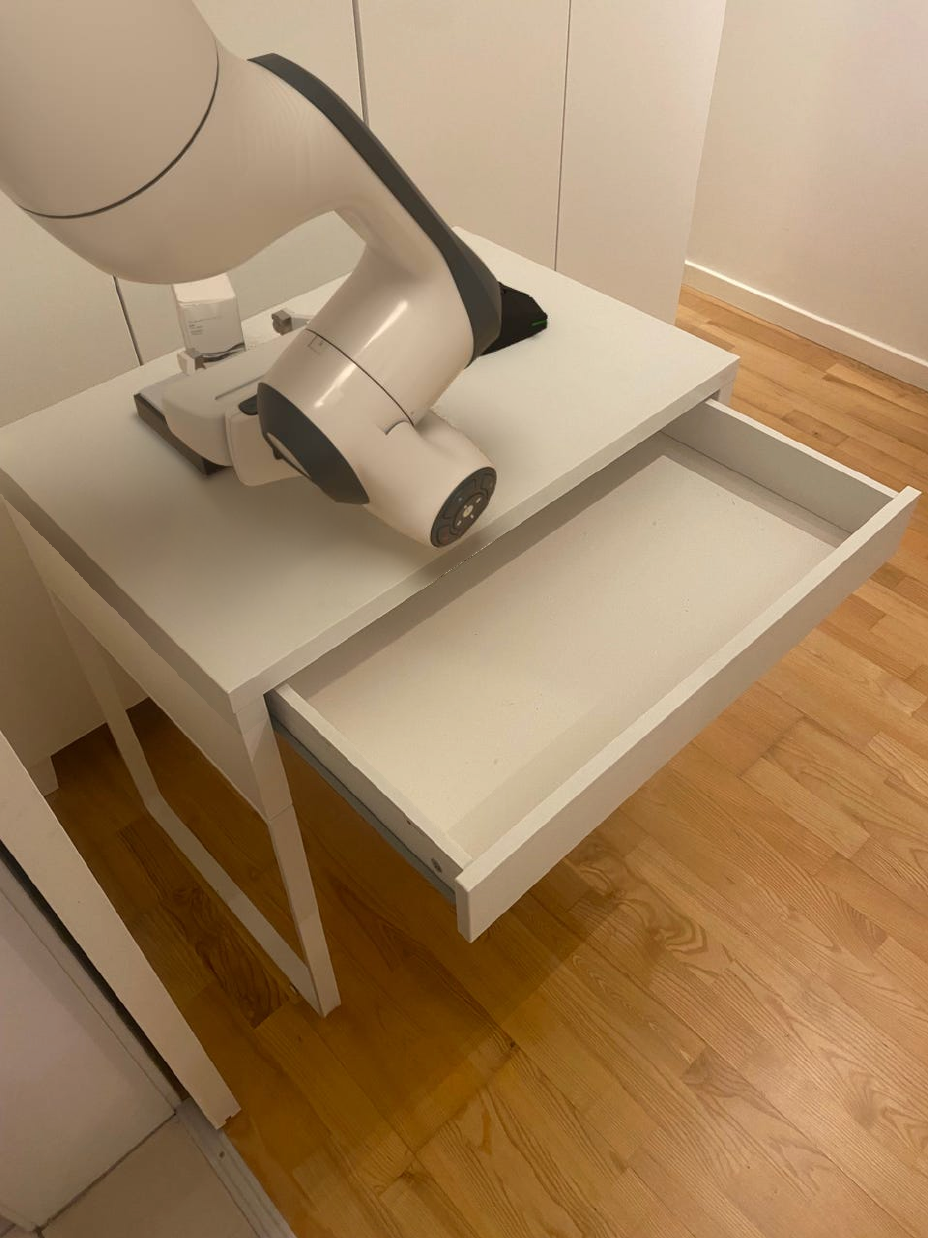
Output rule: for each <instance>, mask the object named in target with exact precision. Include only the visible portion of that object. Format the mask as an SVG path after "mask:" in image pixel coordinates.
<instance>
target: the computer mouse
mask: <svg viewBox="0 0 928 1238" xmlns="http://www.w3.org/2000/svg"><path fill="white" fill-rule="evenodd" d="M497 281H498V283H499V287H500V293H501V327H500V334H499V336H498V337H497V339H495V340H494V341H493V342H492V343H491V344H490V345H489V346H488V347H487V348H486V349H485V350H484V351H483V352H482V353H481V354H480V355H479V356H478V357H482V356H486V355H488V354H491V353H495V352H498V351H500V350H503V349H505V348H508V347H510V346H512V345H515V344H518V343H519V342H522V341H524V340H527V339H529V338H531V337H533V336H535V335H537V334H539V333H541V332H542V331H544V330H546V329H547V328H548V319H549V316H548V314H547V312H545V311H544V309H542V307H541V306H540V305H539V303H538V302H537V301H536V300H535V299H534V297H533V296H531V295H530V294H528V293H525V292H524V291H521V290H518V289H515V288H513V287H511V286H508V285H506V284H504V283H503V282H501V281H499V280H497Z"/></svg>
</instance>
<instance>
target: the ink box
mask: <svg viewBox="0 0 928 1238" xmlns="http://www.w3.org/2000/svg"><path fill="white" fill-rule="evenodd" d="M170 287H171V288H170V289H171V292H172V297H173V301H174V306H175V310H176V315H177V319H178V324H179V327H180V331H181V336H182V340H183V344H184V349H185V350H188V349H190V348H195V349H196V351H199V352H200V353H201V354H202V355H203V359H204V363H203V365H204V366H205V368H206V369H207V368H209V367H212V366H214V365H216V364H219V363H221V362H223V361H225V360H228V359H230V358H232V357H234V356H237V355H239V354H241V353H244V352H246V351H247V349H246V344H245V339H244V333H243V332H244V331H243V328H242V322H241V321H242V320H241V317H240V311H239V306H238V299H237V296H236V292H235V290H234V288H233V285H232V283H231V280H230V277H229V275H228V272H225V273H223V274H220V275H218V276H215V277H211V278H208V279H204V280H200V281H195V282H189V283H182V284H170Z"/></svg>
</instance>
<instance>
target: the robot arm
mask: <svg viewBox="0 0 928 1238" xmlns="http://www.w3.org/2000/svg"><path fill="white" fill-rule="evenodd" d="M0 191H1V192H2V193H3V194H4V195H5V196H6V197H7V198H8V199H9V200H11V202H12V203H13V204H15V205H16V206H17V207H18V208H19V209H20V210H21V211H22V212H23V213H25V214H26V215H27V216H28V217H29V218H30V219H31V220H33V222H35V223H36V224H37V225H38V226H39V227H41V229H43V230H44V231H45V232H47V233H48V234H49V235H50V236H51V237H53V238H54V239H56V240H57V241H58V242H59V243H60V244H62V245H63V246H64V247H66V248H67V249H69V250H70V251H71V252H73V253H74V254H75V255H77V256H78V257H80V258H81V259H82V260H84V261H85V262H87V263H89V264H90V265H92V266H93V267H95V268H96V269H98V270H100V271H101V272H103V273H105V274H106V275H109V276H111V277H114V278H117V279H120V280H124V281H128V282H132V283H137V284H138V283H139V284H146V285H159V286H160V285H163V286H164V285H167V286H168V285H170V286H171V284H182V283H189V282H195V281H200V280H204V279H208V278H211V277H215V276H218V275H220V274H223V273H225V272H226V273H228V272H230V271H233V270H234V269H236V268H238V267H240V266H242V265H244V264H246V263H247V262H249V261H250V260H252V259H253V258H254V257H256V256H258V255H259V253H261V252H263V251H264V250H265V249H266V248H268V247H270V245H272V244H273V243H275V242H276V241H277V240H279V239H281V238H282V237H283V236H286V235H287V234H288V233H290V232H292V231H293V230H295V229H297V228H298V227H300V226H302V225H303V224H305V223H308V222H309V221H311V220H313V219H315V218H317V217H319V216H322V215H324V214H327V213H331V212H335V213H336V214H337V215H338V216H339V217H340V219H342V221H344V222H345V224H347V225H348V227H350V229H352V230H353V231H354V233H355V234H356V235H358V237H360V239H362V241H363V242H364V243H365V245H364V248H363V251H362V254H361V256H360V259H359V260H358V262H357V264H356V266H355V267H354V269H353V270H352V272H351V273H350V274H349V276H348V277H347V278H346V280H344V282H343V283H342V284H341V285H340V286H339V288H338V289H337V290H336V291H335V292H334V293H333V295H332V296H331V297H330V298H329V299H328V300H327V302H326V303H324V305H323V306H322V307H321V308H320V309H319V311H318V312H317V313H316V315H311V314H303V313H295V312H293V311H292V310H291V309H289V308H287V307H284V308H282V309H280V310H278V311H276V312H273V313H271V314H270V315H271V316H270V317H271V320H273V321H272V323H271V324H272V328H273V330H274V331H275V332H276V333H277V334H280V336H277V337H275V338H273V339H270V340H269V341H266V342H264V343H261V344H260V345H258V346H255V347H253V348H250V349H248V350H246V352H244V353H241V354H239V355H237V356H234V357H232V358H230V359H228V360H225V361H223V362H221V363H219V364H216V365H214V366H212V367H209V368H207V369H206V368H205V366H204V365H203V363H204V359H203V355H202V354H201V353H200V352H199V351H196V349H195V348H190V349H188V350H186V349H185V350H183V351H181V352H178V353H176V358H177V362H178V366H179V369H180V370H181V372H183V373H184V374H186V375H187V376H188V377H187V378H184V379H182V380H180V381H178V382H175V383H173V384H170V385H168V386H166V387H165V388H164V390H163V393H162V407H163V411H164V415H165V418H166V421H167V424H168V426H169V428H170V430H171V431H172V433H173V434H174V435H175V436H176V437H178V438H179V439H180V440H181V441H182V442H184V443H185V444H186V445H187V446H189V447H190V448H191V449H193V450H194V451H196V452H197V453H198V454H200V455H201V456H203V457H204V458H206V459H208V460H209V461H211V462H214V463H216V464H219V465H224V466H226V467H233V468H234V470H235V474H236V476H237V478H238V479H239V481H240V482H241V483H242V484H244V485H246V486H248V487H256V486H260V485H264V484H269V483H273V482H276V481H280V480H285V479H290V478H295V477H302V476H303V477H305V478H306V479H308V481H311V482H312V483H313V484H314V485H316V486H317V487H318V488H319V489H320V490H321V491H322V493H324V495H325V496H327V497H328V499H331V500H332V501H334V502H335V503H339V504H348V505H349V504H350V505H360V506H362V507H363V508H364V509H366V510H367V511H368V512H369V513H371V514H372V515H374V516H375V517H376V518H378V519H379V520H381V521H382V522H384V523H385V524H387V525H389V527H391V528H393V529H395V530H396V531H398V532H400V533H402V534H403V535H405V536H407V537H408V538H410V539H411V540H414V541H416V542H418V543H420V544H422V545H424V546H426V547H428V548H429V547H430V548H431V549H441V548H444V547H447V546H448V545H451V544H452V543H454V542H456V541H457V540H459V539H460V538H462V537H463V536H464V535H465V534H466V533H467V531H468V530H469V529H471V527H472V526H473V525H474V524H475V523H476V522H477V520H478V519H479V518H480V516H481V515H482V514H483V513H484V511H485V510H486V508H488V506H489V504H490V501H491V499H492V497H493V495H494V492H495V488H496V484H497V479H498V478H497V477H498V474H497V469H496V467H495V465H494V464H493V463H492V462H491V461H490V459H489V458H488V457H487V456H486V454H485V453H483V452H482V450H480V449H479V448H478V447H477V446H476V445H475V444H474V443H473V442H472V441H470V439H468V438H467V437H466V436H465V435H464V434H463V433H461V432H460V431H459V430H458V429H457V428H456V427H454V426H453V425H452V424H451V423H450V422H448V421H447V420H446V419H444V418H443V417H441V416H440V415H439V414H438V413H436V412H435V411H433V410H432V407H433V406H434V405H435V404H436V403H437V401H439V399H440V398H441V397H442V396H443V394H444V393H445V392H446V391H447V390H448V389H449V387H451V385H452V384H453V383H454V381H455V380H456V379H457V378H458V377H459V375H460V374H461V373H462V372H463V371H464V370H466V369H467V368H469V367H470V366H471V365H472V363H474V362H475V361H476V360H477V359H478V358H479V357H480V356H479V355H480V354H481V353H482V352H483V351H484V350H485V349H486V348H487V347H488V346H489V345H490V344H491V343H492V342H493V341H494V340H495V339H497V337H498V336H499V334H500V327H501V293H500V287H499V283H498V281H499V280H498V279H497V278H496V276H495V275H494V273H493V272H492V270H490V268H489V266H488V264H487V263H486V262H485V260H483V258H482V257H481V256H480V255H479V254H478V253H477V252H476V251H475V249H473V248H472V246H470V245H469V244H467V242H465V241H464V240H463V239H462V238H461V237H459V235H458V234H457V233H456V232H455V231H454V230H453V229H452V228H451V227H450V226H449V225H448V224H447V222H446V221H445V219H443V218H442V216H441V215H440V214H439V212H438V211H437V210H436V209H435V207H434V206H433V205H432V204H431V203H430V201H429V200H428V199H427V198H426V197H425V195H424V194H423V193H422V192H421V190H420V189H419V187H417V185H416V184H415V183H414V181H413V180H412V179H411V177H410V176H409V175H408V174H407V172H406V171H405V170H404V168H403V167H402V166H401V165H400V164H399V162H398V161H397V160H396V158H395V157H393V155H392V154H391V152H390V151H389V150H388V149H387V148H386V147H385V145H384V144H383V143H382V142H381V140H379V138H378V137H377V136H376V135H375V133H374V132H373V131H372V130H371V128H369V127H368V125H367V124H366V123H365V122H364V121H363V119H361V117H360V116H359V115H358V113H356V112H355V111H354V109H352V108H351V106H350V105H349V104H348V103H347V102H346V101H345V100H344V99H343V98H342V97H341V96H340V95H339V94H337V92H336V91H334V90H333V89H332V88H331V87H330V86H329V85H328V84H327V83H325V82H324V81H323V80H322V79H320V78H318V76H316V75H315V74H314V73H312V72H310V71H308V70H307V69H305V67H303V66H302V65H299V64H298V63H297V62H294V61H292V60H291V59H289V58H286V57H285V56H282V55H280V54H278V53H275V52H270V53H265V54H262V55H258V56H254V57H251V58H247V59H243V58H241V57H238V56H236V54H234V53H232V52H231V51H230V50H229V49H228V48H226V46H224V45H223V44H222V42H221V41H220V40H219V39H218V37H217V36H216V34H215V33H214V31H213V30H212V29H211V27H210V25H209V24H208V22H207V21H206V19H205V18H204V16H203V15H202V13H201V12H200V10H199V9H198V7H197V6H196V4H195V3H194V1H193V0H0Z"/></svg>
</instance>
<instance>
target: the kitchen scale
mask: <svg viewBox="0 0 928 1238" xmlns="http://www.w3.org/2000/svg"><path fill="white" fill-rule="evenodd" d="M187 377H188V376H187V375H186V374H184V373H183V372H182V371H181V372H178V373H176V374H174V375H171V376H169V377H166V378H164V379H162V380H159V381H157V382H155V383H153V384H149V385H148V386H145V387H143V388H142V389H139V391H138V393H136V394H133V396H132V397H133V401H134V404H135V406H136V410H137V415H138V417H139V418H141V419H142V421H144V422H145V423H146V424H147V425H149V427H151V428H152V429H153V430H154V431H155V432H156V433H157V434H158V435H160V436H161V437H162V438H163V439H164V440H165V441H167V443H169V444H170V445H171V446H172V447H173V448H174V449H176V450H177V451H178V452H179V453H180V454H181V455H182V456H183V457H185V459H187V460H188V461H189V462H190V463H191V464H192V465H194V467H196V468H197V469H198V470H199V471H200V472H201V473H202V474H204V476H206V477H208V476H210V475H212V474H213V473H215V472H218V471H220V470H222V469H224V468H226V467H227V466H224V465H219V464H216V463H214V462H211V461H209V460H208V459H206V458H204V457H203V456H201V455H200V454H198V453H197V452H196V451H194V450H193V449H191V448H190V447H189V446H187V445H186V444H185V443H184V442H182V441H181V440H180V439H179V438H178V437H176V436H175V435H174V434H173V433H172V431H171V430H170V428H169V426H168V424H167V421H166V418H165V415H164V411H163V407H162V393H163V390H164V388H165V387H166V386H168V385H170V384H173V383H175V382H178V381H180V380H182V379H184V378H187Z"/></svg>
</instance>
